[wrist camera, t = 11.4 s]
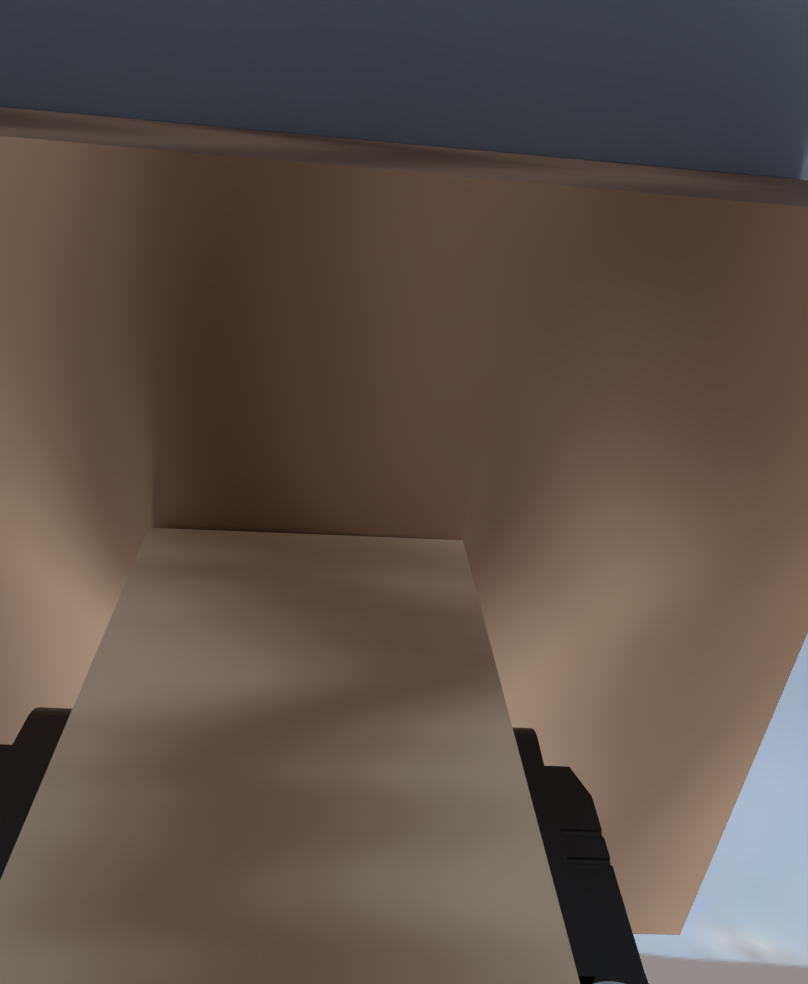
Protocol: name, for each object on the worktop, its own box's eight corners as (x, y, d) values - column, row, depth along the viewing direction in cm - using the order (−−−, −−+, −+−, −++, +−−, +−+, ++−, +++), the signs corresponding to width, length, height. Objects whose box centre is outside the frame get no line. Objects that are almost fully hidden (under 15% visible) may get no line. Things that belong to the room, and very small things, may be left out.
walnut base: (801, 179, 15) (981, 222, 10) (620, 765, 22) (679, 934, 18) (-177, 91, 14) (-442, 97, 9) (-17, 742, 21) (-121, 917, 17)
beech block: (462, 540, 13) (581, 988, 6) (429, 757, 15) (493, 1236, 9) (148, 527, 12) (-52, 1003, 6) (166, 755, 14) (36, 1264, 8)
